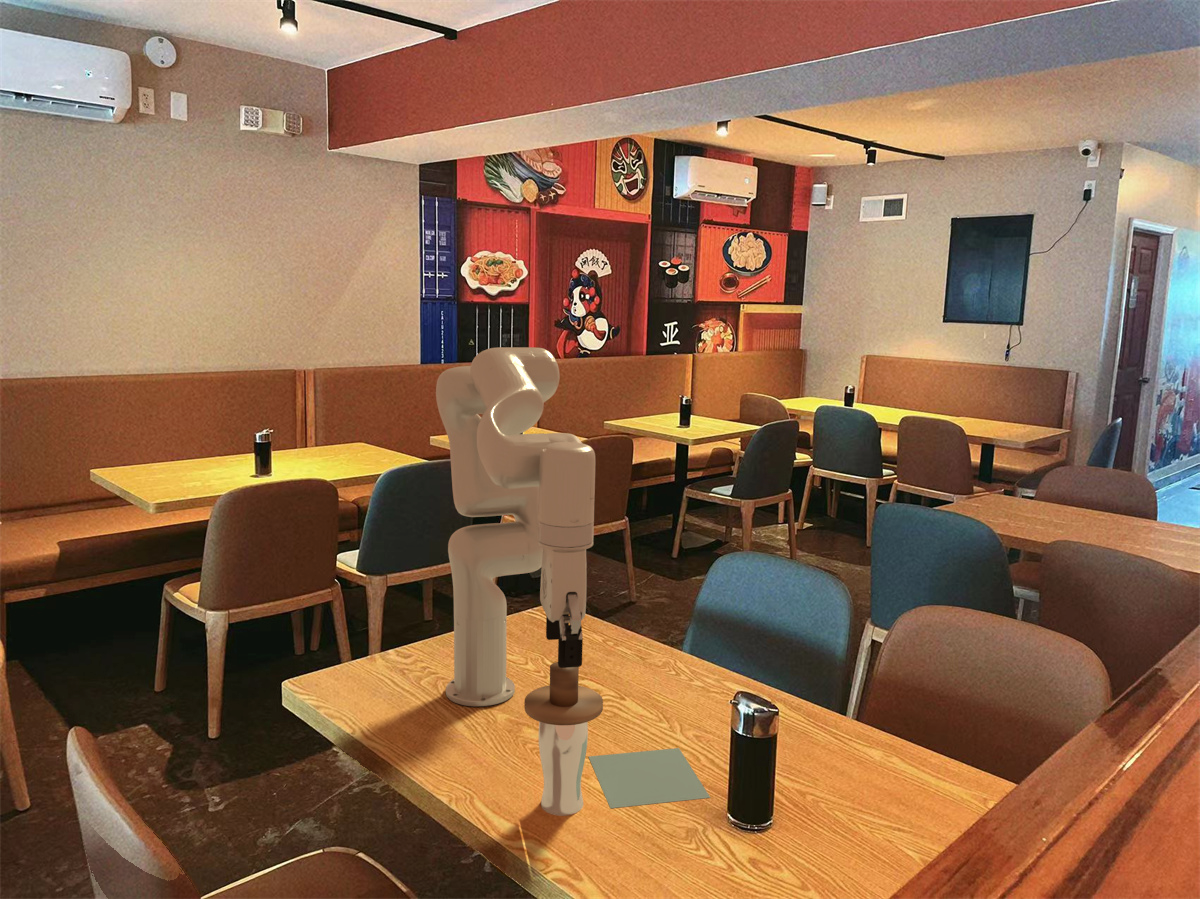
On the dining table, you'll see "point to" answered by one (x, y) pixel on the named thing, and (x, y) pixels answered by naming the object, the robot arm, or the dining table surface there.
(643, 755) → the rubber mat
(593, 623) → the dining table surface
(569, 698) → the walnut lid
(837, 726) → the dining table surface
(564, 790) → the beer glass
